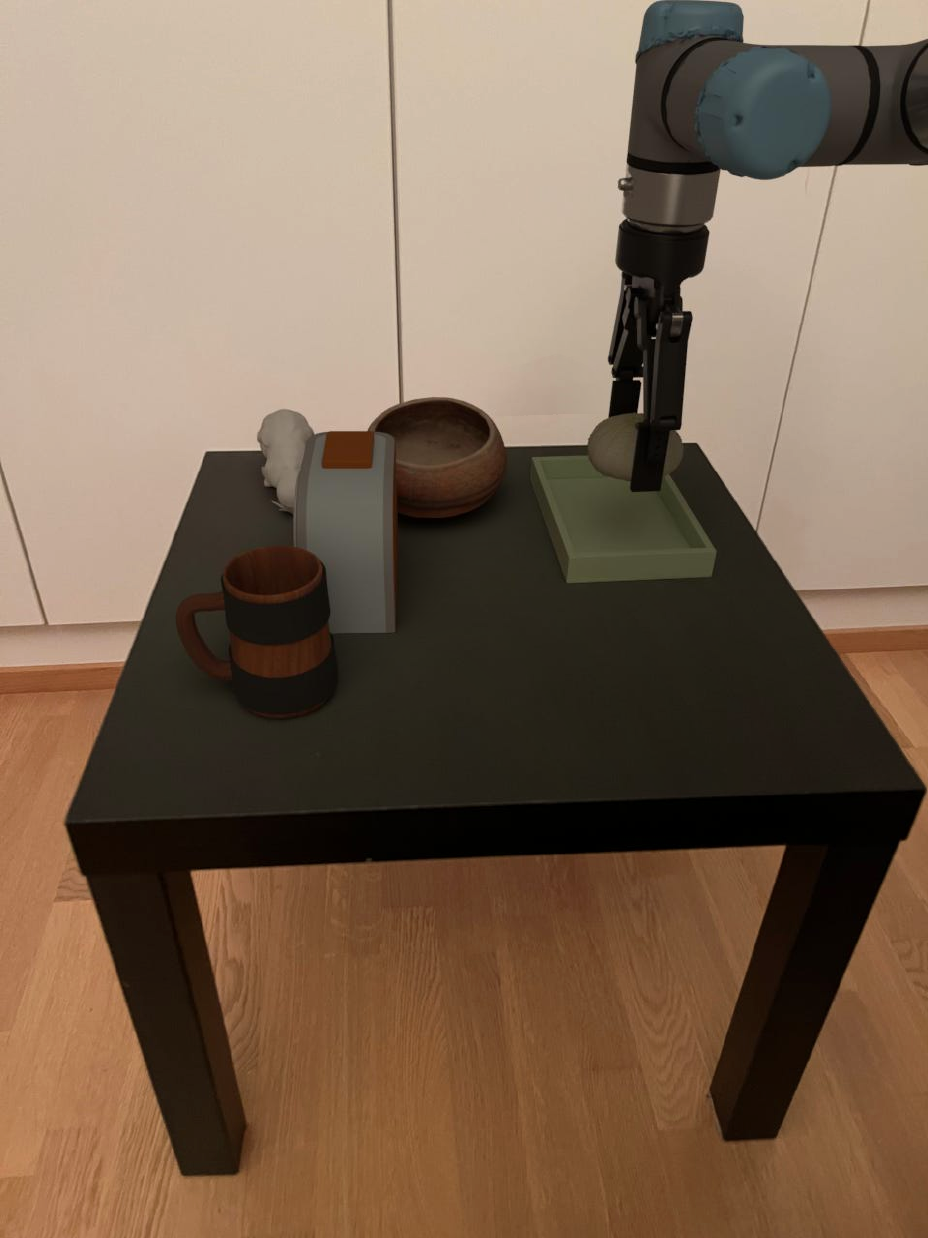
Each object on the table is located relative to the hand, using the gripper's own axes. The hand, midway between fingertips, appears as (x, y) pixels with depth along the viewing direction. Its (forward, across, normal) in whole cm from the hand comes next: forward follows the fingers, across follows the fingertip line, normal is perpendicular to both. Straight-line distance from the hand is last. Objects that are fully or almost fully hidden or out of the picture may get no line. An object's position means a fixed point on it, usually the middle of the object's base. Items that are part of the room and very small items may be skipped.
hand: (631, 465), depth 92 cm
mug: (+10, +20, -35) cm, 41 cm away
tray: (+10, -5, 0) cm, 11 cm away
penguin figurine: (+10, -14, -34) cm, 38 cm away
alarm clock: (+10, +5, -27) cm, 29 cm away
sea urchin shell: (0, 0, 0) cm, 0 cm away
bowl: (+10, -11, -18) cm, 24 cm away
